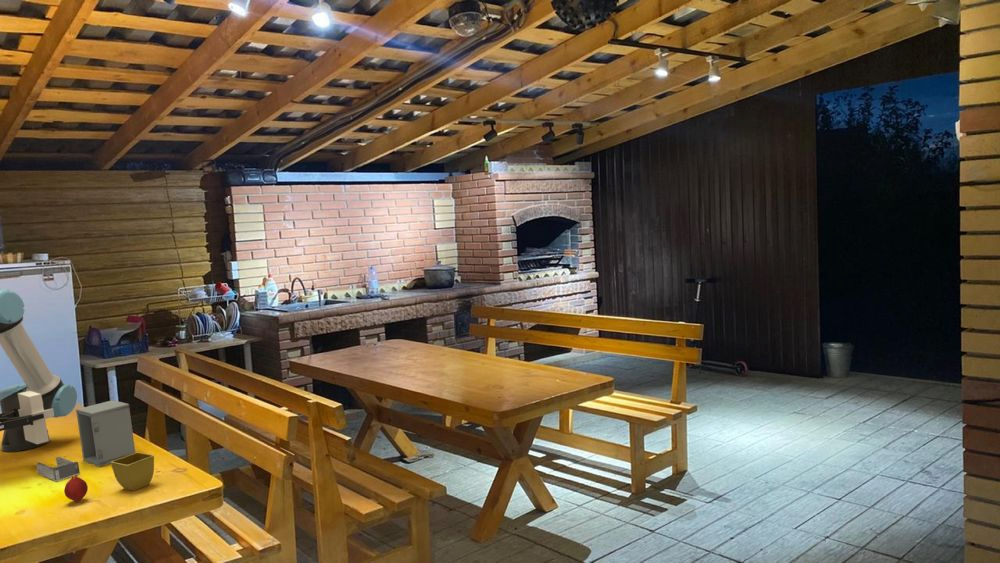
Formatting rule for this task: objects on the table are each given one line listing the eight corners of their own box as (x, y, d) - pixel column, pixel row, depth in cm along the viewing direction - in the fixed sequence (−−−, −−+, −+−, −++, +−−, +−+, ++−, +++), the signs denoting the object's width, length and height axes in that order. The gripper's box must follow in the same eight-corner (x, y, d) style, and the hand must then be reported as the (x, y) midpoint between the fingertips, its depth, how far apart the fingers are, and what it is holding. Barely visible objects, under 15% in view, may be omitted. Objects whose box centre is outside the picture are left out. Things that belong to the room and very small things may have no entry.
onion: (72, 498, 217) (68, 472, 216) (92, 496, 217) (89, 470, 217) (62, 506, 211) (58, 479, 210) (83, 504, 212) (79, 477, 211)
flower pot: (131, 495, 216) (126, 465, 215) (113, 490, 221) (109, 461, 220) (158, 484, 224) (154, 455, 223) (141, 480, 228) (137, 451, 227)
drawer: (37, 473, 242) (36, 461, 242) (60, 466, 248) (58, 455, 247) (56, 481, 233) (54, 469, 233) (79, 474, 238) (78, 462, 238)
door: (25, 439, 250) (17, 393, 248) (38, 436, 253) (30, 390, 251) (37, 444, 243) (29, 396, 242) (50, 440, 246) (42, 393, 245)
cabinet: (83, 461, 252) (75, 409, 250) (119, 450, 261) (112, 400, 259) (100, 467, 244) (92, 414, 242) (137, 456, 253) (130, 404, 251)
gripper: (-41, 436, 241) (35, 417, 258) (-16, 447, 226) (62, 425, 244) (-45, 414, 240) (31, 395, 257) (-21, 423, 225) (58, 403, 243)
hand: (46, 410), depth 250 cm, fingers closed on door, 10 cm apart
